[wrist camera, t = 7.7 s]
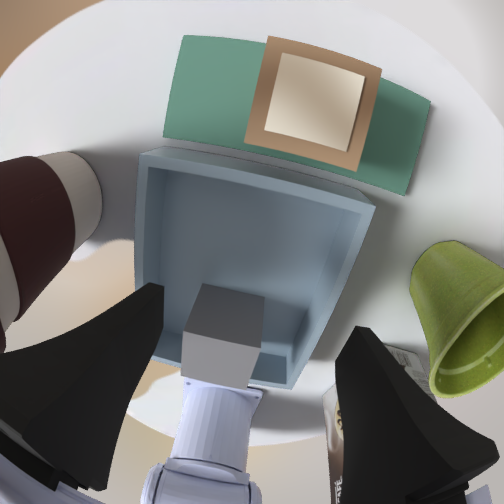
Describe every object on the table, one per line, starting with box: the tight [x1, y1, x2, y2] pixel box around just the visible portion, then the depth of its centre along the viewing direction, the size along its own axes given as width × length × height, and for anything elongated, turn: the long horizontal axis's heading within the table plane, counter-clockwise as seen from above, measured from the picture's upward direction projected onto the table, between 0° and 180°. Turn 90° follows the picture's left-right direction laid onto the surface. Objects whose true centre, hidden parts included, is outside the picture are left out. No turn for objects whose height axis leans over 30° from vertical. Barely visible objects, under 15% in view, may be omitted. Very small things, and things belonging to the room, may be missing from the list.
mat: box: [163, 35, 431, 196], centre depth 14 cm, size 6×15×1 cm, turn 78°
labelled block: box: [244, 36, 382, 172], centre depth 11 cm, size 4×4×5 cm
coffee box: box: [322, 345, 437, 504], centre depth 17 cm, size 9×6×16 cm
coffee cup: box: [0, 152, 102, 354], centre depth 11 cm, size 10×10×15 cm
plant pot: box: [409, 241, 504, 398], centre depth 14 cm, size 9×9×9 cm
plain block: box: [181, 283, 265, 390], centre depth 18 cm, size 4×4×5 cm
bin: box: [134, 146, 376, 390], centre depth 18 cm, size 15×12×4 cm
